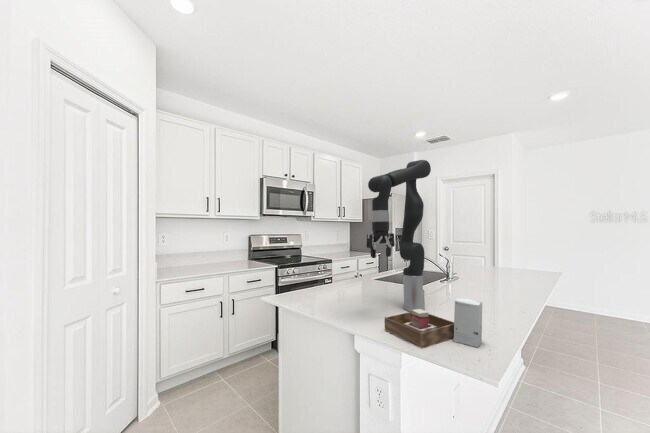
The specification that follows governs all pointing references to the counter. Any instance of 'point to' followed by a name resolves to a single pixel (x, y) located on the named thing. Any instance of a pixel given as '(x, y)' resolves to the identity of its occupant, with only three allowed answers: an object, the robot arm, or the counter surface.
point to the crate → (420, 337)
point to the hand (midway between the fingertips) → (381, 257)
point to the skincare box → (468, 322)
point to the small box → (419, 318)
